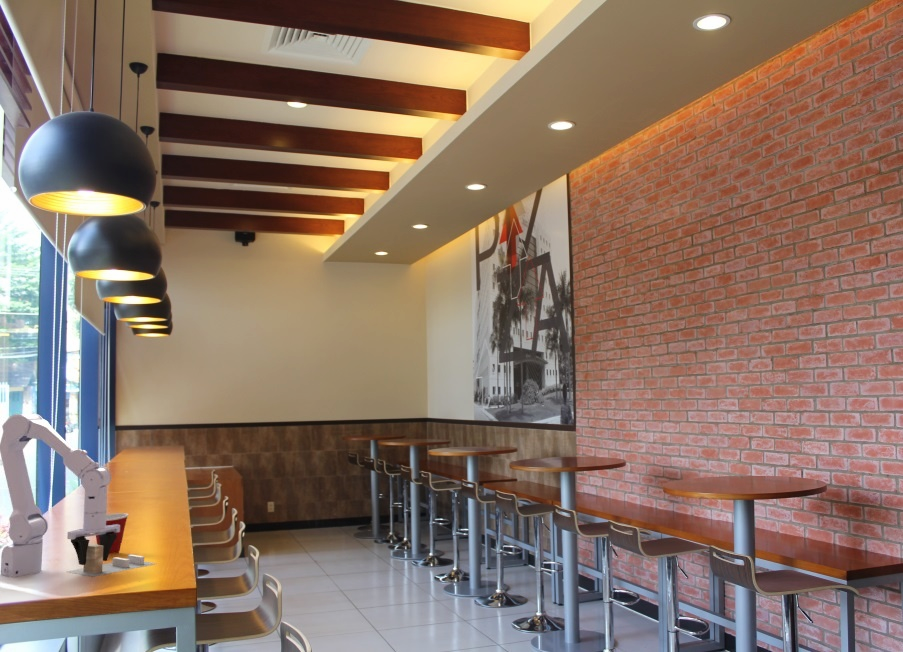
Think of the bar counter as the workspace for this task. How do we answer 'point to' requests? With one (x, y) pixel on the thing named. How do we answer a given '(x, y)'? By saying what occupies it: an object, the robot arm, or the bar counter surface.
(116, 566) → the clip board
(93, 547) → the wooden block
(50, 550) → the bar counter surface
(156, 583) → the bar counter surface
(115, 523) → the plastic cup
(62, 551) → the bar counter surface
